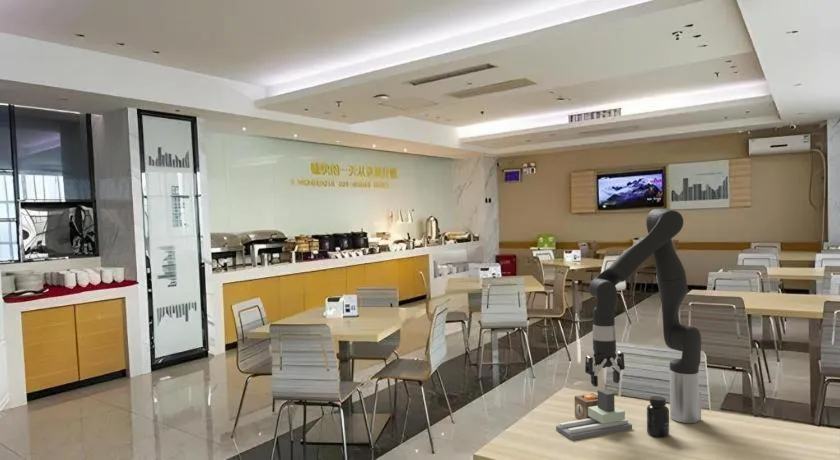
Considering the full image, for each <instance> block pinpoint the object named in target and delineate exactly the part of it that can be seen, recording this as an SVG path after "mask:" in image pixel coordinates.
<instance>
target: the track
mask: <svg viewBox="0 0 840 460" xmlns="http://www.w3.org/2000/svg"><path fill="white" fill-rule="evenodd" d="M632 429H633V423H632V424H631V423H629V420H628V419H627V418H625V420H622V421H616V422H611V423H605V424H602V423H600V422H598V421H597V420H595V419H593V418H589V419H583V420H580V419H578V420H572V421H566V422H561V423H560V422H559V424H558V425H555V430H556V432H557V433H558V432H559V433H560V434H561V435H563V436H565V437H566V438H568V439H569V440H570V441H575V440H580V439H585V438H591V437H597V436H601V435H607V434H613V433H618V432H624V431H629V430H632Z"/></svg>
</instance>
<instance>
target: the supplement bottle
mask: <svg viewBox="0 0 840 460" xmlns="http://www.w3.org/2000/svg"><path fill="white" fill-rule="evenodd" d="M666 405H667V399H666V397H663V396H659V395H653V396H652V395H651V396H649V404H648V405H647V407H646V433H647V434H648V435H649V436H652V437H655V438H667V437H669V435H670V408H668V407H667V406H666Z"/></svg>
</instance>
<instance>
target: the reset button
mask: <svg viewBox="0 0 840 460" xmlns="http://www.w3.org/2000/svg"><path fill="white" fill-rule="evenodd" d="M587 394H588V395H585V394H583V395H584V398H585V399H586V400H595V396H594V395H589V394H590V393H587Z"/></svg>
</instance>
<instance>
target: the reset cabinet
mask: <svg viewBox="0 0 840 460" xmlns="http://www.w3.org/2000/svg"><path fill="white" fill-rule="evenodd" d="M588 394H589V395H594V396H595V400H586V399H585V398H584V395H588ZM592 406H598V394H595V393H594V392H593V393H585V394H579V395H574V417H575V418H576V419H578V420H583V419H589V418H591V417H589V416H588V407H592Z"/></svg>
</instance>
